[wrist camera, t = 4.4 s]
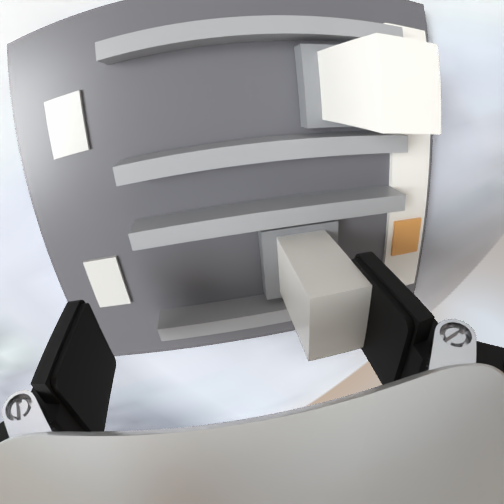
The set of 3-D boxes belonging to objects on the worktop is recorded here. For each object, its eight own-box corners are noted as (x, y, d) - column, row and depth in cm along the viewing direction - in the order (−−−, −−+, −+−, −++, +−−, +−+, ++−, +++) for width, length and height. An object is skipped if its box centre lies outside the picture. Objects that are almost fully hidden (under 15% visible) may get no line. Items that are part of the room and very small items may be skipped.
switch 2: (331, 214, 13) (390, 273, 9) (329, 277, 15) (376, 349, 10) (257, 224, 13) (288, 293, 9) (263, 290, 15) (290, 370, 10)
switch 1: (369, 50, 10) (451, 38, 6) (373, 124, 12) (454, 145, 7) (294, 46, 10) (353, 18, 6) (300, 126, 11) (361, 145, 7)
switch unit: (411, 7, 10) (441, -1, 8) (403, 292, 18) (424, 315, 16) (18, 46, 9) (-11, 41, 6) (98, 345, 16) (89, 376, 14)
